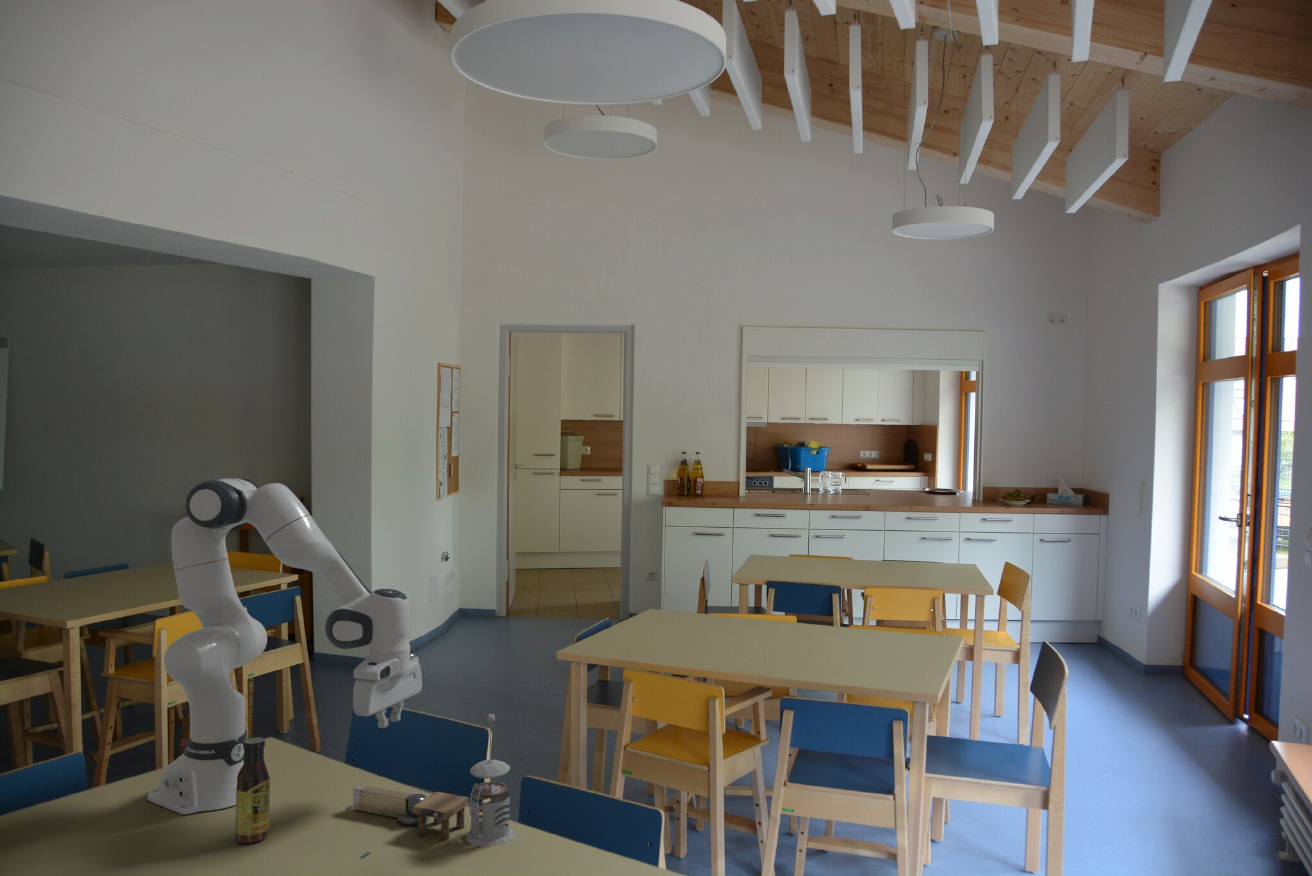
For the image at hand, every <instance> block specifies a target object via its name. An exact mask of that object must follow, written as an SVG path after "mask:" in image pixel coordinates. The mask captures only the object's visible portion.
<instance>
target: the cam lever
mask: <svg viewBox="0 0 1312 876" xmlns="http://www.w3.org/2000/svg"><path fill="white" fill-rule="evenodd" d="M352 790H353V793H352V795H353V796H352V797H353V798H352V802H353V807H352V809H353V810H356V811H361V812H367V813H373V814H376V815H381V816H386V817H393V818H397V822H398V823H399V824H401V825H403V826H404V825H405V826H418V814H414V806H415V805H416V804H418V803H419V802H421V801H423V800H424V799H426V798H427V797H426V795H425V794H423V793H413V794H412V793H407V792H403V791H402V792H401V791H396V790H390V789H385V788H380V787H374V786H369V785H366V784H361V783H360V784H359V785H357V786H355V787H353V788H352ZM429 819H430V817H429V816H426V822H427V821H428V820H429Z"/></svg>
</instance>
